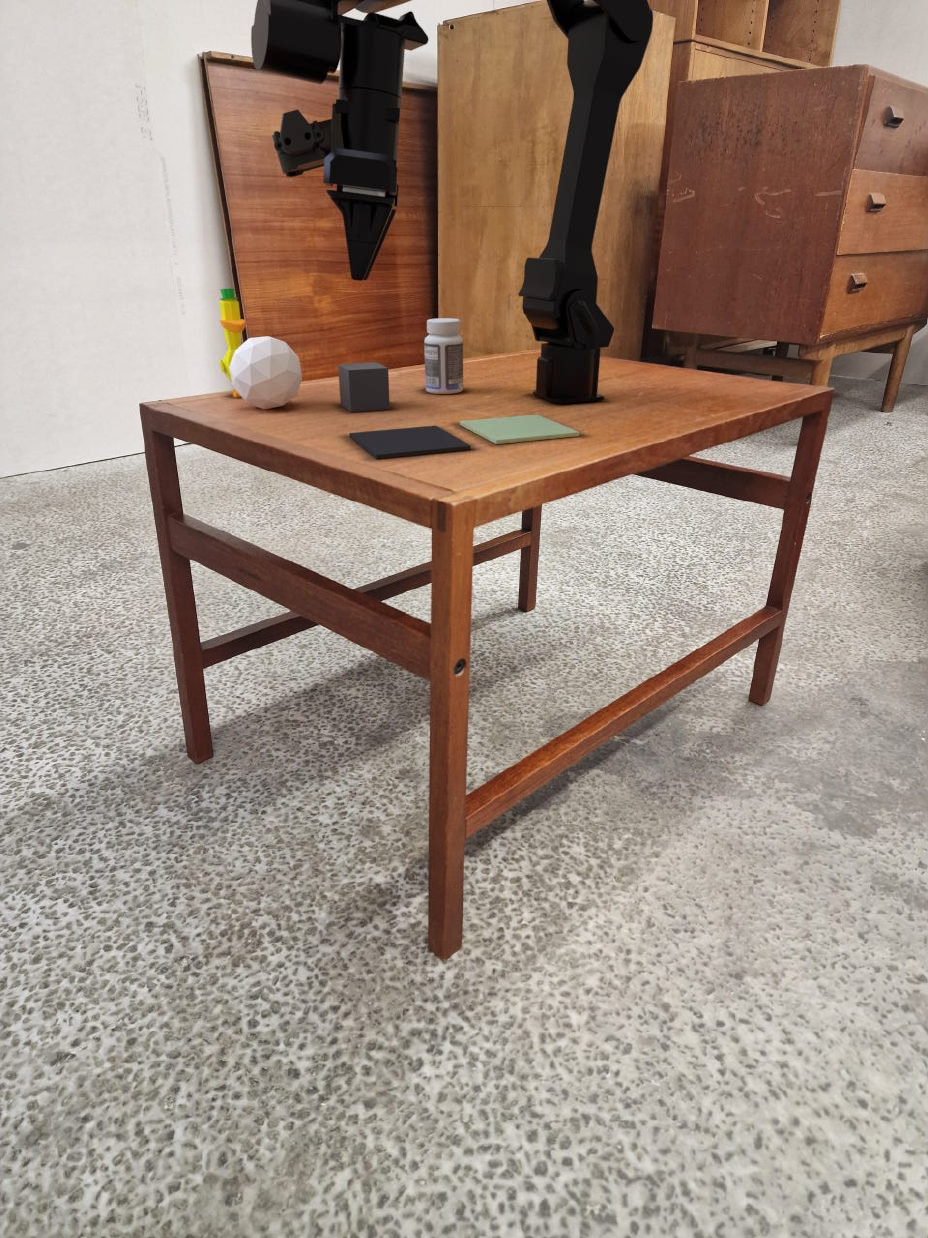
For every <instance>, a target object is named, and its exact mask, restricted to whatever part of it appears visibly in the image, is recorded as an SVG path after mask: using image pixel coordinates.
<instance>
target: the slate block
mask: <svg viewBox="0 0 928 1238" xmlns="http://www.w3.org/2000/svg"><path fill="white" fill-rule="evenodd" d="M337 369H338V387H339V401H340V406H342V407H343V408H344V409H346V410H347V411H349V412H350V413H361V412H372V411H385V410H390V409H391V405H390V402H391V401H390V379H389V377H390V375H389V367H387V366H385V365H383V364H381V363H379V362H376V361H375V362H374V361H373V362H371V361H370V362H356V363H355V362H354V363H340V364H339V363H338V364H337Z"/></svg>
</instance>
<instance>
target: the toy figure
mask: <svg viewBox="0 0 928 1238" xmlns="http://www.w3.org/2000/svg"><path fill="white" fill-rule="evenodd" d="M235 290H236V289H235V288H220V293H221V296H222V297H220V298H219V300H220V301H219V309H220V310H219V311H220V317H221V319H219V323H220V326H222V329H223V333H224V338H225V342H226V346H227V351H226V352H225V354H224V356H223V358H222V360H221V359H220V360H219V366H220V367H219V368H220V370H221V372H222V373H224V374H225V376H226V378H227V379H228V380H229V381H230V382H231V383H232V380H231V375H230V370H229V366H230V363H231V361H232V358H233V355H234V352H235V351H236V350H237V349H238V348H239V347H240V346H241V345H242V333H243V331H244V330H245V328H246V325H247V323H246V319H243V318H241V312H240V302H239V301H238V299H239V297H235ZM232 397H233V398H242V397H241V396H240V395H239V394H238V393H237V391H236V390H235V389H234V388H233V390H232Z"/></svg>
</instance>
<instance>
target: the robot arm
mask: <svg viewBox="0 0 928 1238" xmlns="http://www.w3.org/2000/svg"><path fill="white" fill-rule="evenodd" d="M411 1H413V0H257V1H256V5H255V11H254V12H255V13H254V20H253V24H252V26H251V29H250V44H251V45H250V46H251V56H252V62H253V66H254V68H255V69H256V70H257V71H259V72H265V73H268V74H273V75H277V76H281V77H286V78H291V79H294V80H299V81H303V82H308V83H312V84H316V85H322V84H323V83H324V82H325V81H326V79H327V77H328V74H331V75H333V74H335V73H336V72H337V70H338V67H339V73H338V74H339V75H338V97H337V98H336V99H335V103H332V106H331V107H332V108H331V110H332V111H331V118H329V119H324V120H321V121H318V120H316V119H315V120H313V121H312V122H311V123H309V121H308V120H307V119H306V117H305V116H304V115H303V114H302V112H301V111H300V110H299V109H294V110H291V111H287V112H283V113H282V114H281V115H282V116H281V122H280V129H279V131H278V130H276V131H273V134H272V135H271V138H272V142H273V147H274V149H275V151H276V155H277V159H278V161H279V164H280V168H281V172H282V174H283V175H285V177H287V178H294V177H299V176H302V175H303V174H304V173H305V172H308V171H311V170H315V169H320V168H323V182H322V183H323V184H324V185H325V186H326V187H331V188H333V187H334V185H336V190H335V189H325V192H326V195H327V196H328V197H329V198H330V200H331V201H332V203H333V204H334V205H335V206H336V208H337V209H338V210H339V211H340V213H341V215H342V220H343V226H344V235H345V241H346V249H347V257H348V264H349V271H350V272H349V273H350V278H351V279H352V280H353V281H360V282H361V281H367V280H368V279H369V277H370V274H371V273H372V270H373V268H374V266H375V263H376V260H377V258H378V256H379V253H380V251H381V249H382V247H383V245H384V242H385V240H386V238H387V235H388V233H389V230H390V228H391V225H392V224H393V221H394V219H395V217H396V214H397V210H396V209H398V203H399V185H398V176H399V175H398V174H399V171H398V170H399V168H398V152H399V139H400V138H399V137H400V130H401V108H402V95H403V93H402V92H403V82H404V81H403V80H404V67H405V52H406V50H407V51H409V52H410V51H414V50H416V49H419V48H420V47H421V48H422V47H423V46H425V45H427V44H428V43H429V36H428V34H427V33H426V32H425V30H424V29H423V28H422V26H421V25H420V24H419V23H418V21H417V19H416V17H415V14H414V12H413V11H411V10H409V11H407V12H406V13H404V14H402V15H400V17H399V18H395V17H392V16H388V15H384V14H380V13H379V12H382V11H385V10H388V9H392V8H395V7H398V6H401V5H404V4H406V3H409V2H411ZM546 3H547V7H548V8H549V12H550V14H551V17H552V20H553V22H554V24H555V25H556V26H557V28H558V29H559V30H560V31H561V32H562V34H563V35H564V36H565V38H567V57H566V60H567V61H566V65H567V70H568V74H569V79H570V83H571V87H572V91H573V96H572V97H573V99H572V103H571V104H572V105H571V109H570V117H569V122H568V128H567V133H566V139H565V143H564V150H563V156H562V162H561V167H560V172H559V179H558V184H557V189H556V194H555V195H556V196H555V200H554V201H555V202H554V206H553V211H552V218H551V223H550V224H551V225H550V228H549V235H548V240H547V243H546V246H545V247H544V248H543V250H542V252H541V253H540V255H539V257H531V256H530V257H528V256H527V257H526V259H525V261H524V262H525V263H524V268H523V270H524V271H523V282H522V286H521V287H520V290H519V292H518V297H521V298H522V313H523V314H524V315H525V318H526V319H527V321H528V322H529V324H530V325H531V328H532V332H533V337H534V340H535V342H541V344H540V356H538V357H537V359H536V378H535V379H536V380H535V390H532V396H535V397H538V398H541V399H543V400H546V401H548V402H551V403H554V404H571V403H581V402H582V403H584V402H595V401H605V395H604V394H600V393H598V390H599V378H600V377H599V376H600V364H601V363H600V362H601V349H603V348H608V347H609V346H610V344H611V341H612V338H613V335H614V332H615V327H614V326H613V324H612V323H611V321H610V320H609V319H608V317H607V316H606V315H605V313H604V312H603V311H602V309H601V308H600V307H599V305H598V302H597V301H598V287H599V276H598V271H597V268H596V263H595V259H594V255H593V244H594V240H595V233H596V230H597V229H596V228H597V223H598V218H599V213H600V207H601V202H602V197H603V193H604V188H605V182H606V177H607V171H608V167H609V162H610V157H611V151H612V147H613V141H614V136H615V131H616V127H617V120H618V116H619V110H620V107H621V106H620V105H621V102H622V99H623V97H624V95H625V93H626V92H627V90H628V89H629V87H630V85H631V83H632V82H633V81H634V79H635V77H636V75H637V74H638V72H639V70H640V69H641V67H642V64H643V60H644V58H645V54H646V52H647V49H648V46H649V42H650V39H651V36H652V33H653V27H654V11H653V9H652V8H651V6H650V4H649V1H648V0H546ZM354 9H355V10H357V11H358V12H360V13H363V14H366V15H365V17H364V18H363V19H359V18H358V19H357V18H354V17H351V16H346V15H345V14H347V13H349V12H350V11H352V10H354ZM543 342H544V343H543Z"/></svg>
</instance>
